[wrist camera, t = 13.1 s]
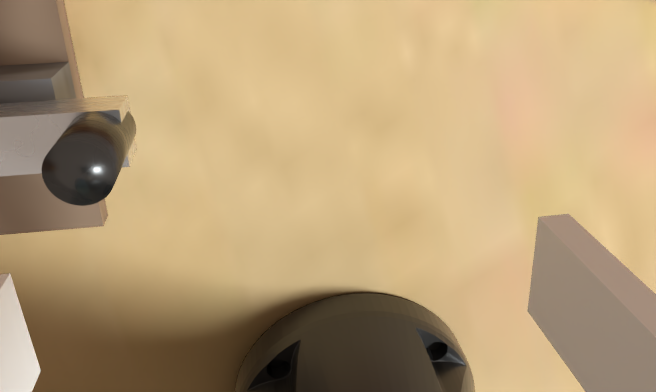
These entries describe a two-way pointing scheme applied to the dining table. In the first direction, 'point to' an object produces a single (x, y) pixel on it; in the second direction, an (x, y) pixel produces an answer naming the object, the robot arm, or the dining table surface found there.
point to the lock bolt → (69, 144)
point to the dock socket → (38, 85)
